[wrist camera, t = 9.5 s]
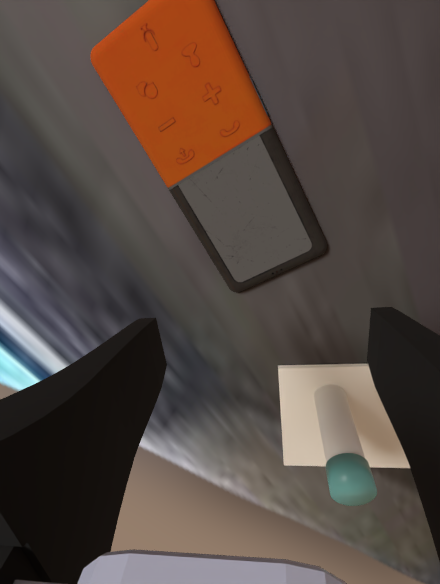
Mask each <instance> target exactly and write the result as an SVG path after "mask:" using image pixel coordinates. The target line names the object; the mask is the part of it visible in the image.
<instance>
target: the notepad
mask: <svg viewBox="0 0 440 584" xmlns="http://www.w3.org/2000/svg"><path fill="white" fill-rule="evenodd" d="M278 373H279V390H280V407H281V424H282V441H283V458H284V465H294V466H326V458H325V453H324V448H323V442H322V437H321V432H320V427H319V421H318V416H317V411H316V405H315V400H314V393H315V391H316V390H317V389H318V388H320V387H321V386H324V385H329V384H333V385H337V386H340V387H341V388H343V389H344V391H345V393H346V396H347V400H348V403H349V406H350V410H351V413H352V416H353V420H354V423H355V426H356V430H357V433H358V436H359V439H360V443H361V446H362V449H363V453H364V456H365V459H366V460H367V461H368V463H369V466H370V467H383V468H410V465H409V463H408V460H407V458H406V455H405V453H404V450H403V448H402V446H401V444H400V441H399V439H398V437H397V435H396V433H395V430H394V428H393V426H392V424H391V422H390V419H389V417H388V415H387V413H386V411H385V409H384V406H383V404H382V402H381V400H380V397H379V395H378V393H377V391H376V388H375V386H374V382H373V379H372V376H371V372H370V369H369V365H368V364H324V365H279V366H278Z"/></svg>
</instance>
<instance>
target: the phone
mask: <svg viewBox="0 0 440 584" xmlns="http://www.w3.org/2000/svg"><path fill="white" fill-rule="evenodd" d="M91 62H92V64H93V66H94V68H95V70H96V71H97V73H98V74H99V76H100V78H101V79H102V81H103V83H104V84H105V86H106V88H107V89H108V91H109V92H110V94H111V96H112V97H113V99H114V101H115V102H116V104H117V106H118V107H119V109H120V110H121V112H122V114H123V115H124V117H125V119H126V120H127V122H128V123H129V125H130V127H131V128H132V130H133V132H134V133H135V135H136V137H137V138H138V140H139V141H140V143H141V145H142V146H143V148H144V150H145V151H146V153H147V155H148V156H149V158H150V159H151V161H152V163H153V164H154V166H155V168H156V169H157V171H158V173H159V174H160V176H161V177H162V179H163V181H164V182H165V184H166V186H167V187H168V189H169V191H170V192H171V194H172V195H173V197H174V199H175V200H176V202H177V204H178V205H179V207H180V209H181V210H182V212H183V213H184V215H185V217H186V218H187V220H188V222H189V223H190V225H191V227H192V228H193V230H194V231H195V233H196V235H197V236H198V238H199V240H200V241H201V243H202V245H203V246H204V248H205V249H206V251H207V253H208V254H209V256H210V258H211V259H212V261H213V263H214V264H215V266H216V267H217V269H218V271H219V272H220V274H221V276H222V277H223V279H224V281H225V282H226V284H227V285H228V287H229V289H230V290H231V291H233V292H242V291H244V290H246V289H248V288H250V287H253V286H255V285H257V284H259V283H261V282H263V281H266V280H268V279H270V278H272V277H274V276H277V275H279V274H281V273H283V272H285V271H287V270H290V269H292V268H294V267H296V266H298V265H301V264H303V263H305V262H307V261H309V260H311V259H314V258H316V257H318V256H320V255H322V254H323V253H324V252H325V251H326V248H327V242H326V240H325V237H324V235H323V233H322V231H321V229H320V227H319V225H318V222H317V220H316V218H315V216H314V214H313V212H312V210H311V207H310V205H309V203H308V201H307V199H306V197H305V195H304V192H303V190H302V188H301V186H300V184H299V182H298V180H297V177H296V175H295V173H294V171H293V169H292V167H291V165H290V162H289V160H288V158H287V156H286V154H285V152H284V149H283V147H282V145H281V143H280V141H279V139H278V137H277V134H276V132H275V130H274V128H273V126H272V124H271V122H270V119H269V117H268V114H267V112H266V109H265V107H264V105H263V103H262V101H261V99H260V96H259V94H258V92H257V90H256V88H255V86H254V84H253V81H252V79H251V77H250V76H249V74H248V72H247V70H246V68H245V66H244V64H243V62H242V59H241V57H240V55H239V53H238V51H237V49H236V46H235V44H234V42H233V40H232V38H231V36H230V34H229V31H228V29H227V27H226V25H225V23H224V21H223V19H222V16H221V14H220V12H219V10H218V8H217V6H216V4H215V1H214V0H149V1H148V2H147V3H145V4H144V5H143V6H142V7H140V8H139V9H138V10H137V11H136V12H134V13H133V14H132V15H131V16H130V17H129V18H128V19H126V20H125V21H124V22H123V23H122V24H121V25H119V26H118V27H117V28H116V29H115V30H114V31H112V32H111V33H110V34H109V35H108V36H106V37H105V38H104V39H103V40H102V41H101V42H99V43H98V44H97V45H96V46H95V47H94V48H93V49H92V51H91Z"/></svg>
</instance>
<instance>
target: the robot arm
mask: <svg viewBox="0 0 440 584" xmlns="http://www.w3.org/2000/svg"><path fill="white" fill-rule="evenodd" d="M367 362H368V365H369V369H370V372H371V376H372V379H373V382H374V386H375V388H376V391H377V393H378V395H379V397H380V400H381V402H382V404H383V406H384V409H385V411H386V413H387V415H388V417H389V419H390V422H391V424H392V426H393V428H394V430H395V433H396V435H397V437H398V439H399V441H400V444H401V446H402V448H403V450H404V453H405V455H406V458H407V460H408V463H409V465H410V468H411V471H412V474H413V477H414V480H415V483H416V486H417V489H418V492H419V495H420V498H421V502H422V505H423V508H424V511H425V514H426V518H427V521H428V524H429V527H430V530H431V534H432V537H433V540H434V544H435V547H436V551H437V554H438V557H439V561H440V336H439V335H438V334H436V333H434V332H433V331H431V330H429V329H428V328H426V327H424V326H423V325H421V324H419V323H418V322H416V321H415V320H413V319H411V318H410V317H408V316H406V315H405V314H403V313H402V312H400V311H398V310H396V309H394V308H392V307H382V308H371V316H370V329H369V342H368V354H367ZM166 366H167V364H166V359H165V355H164V351H163V346H162V342H161V338H160V333H159V329H158V325H157V321H156V318H144V319H138V320H136V321H135V322H133V323H131V324H130V325H128V326H127V327H126V328H124V329H123V330H121V331H120V332H118V333H117V334H116V335H114V336H113V337H111V338H110V339H109V340H107V341H106V342H104V343H103V344H101V345H100V346H99V347H97V348H96V349H94V350H93V351H91V352H90V353H88V354H86V355H85V356H83V357H82V358H80V359H79V360H77V361H76V362H74V363H73V364H71V365H69V366H68V367H66V368H64V369H62V370H61V371H59V372H57V373H55V374H53V375H52V376H50V377H48V378H46V379H44V380H42V381H40V382H38V383H36V384H34V385H32V386H30V387H27V388H25V389H23V390H21V391H19V392H17V393H14V394H12V395H10V396H8V397H6V398H3V399H1V400H0V584H346V583H345V582H344V581H343V580H341V579H339V578H337V577H336V576H334V575H333V574H331V573H329V572H328V571H326V570H324V569H323V568H321V567H319V566H315V565H310V564H305V563H300V562H295V561H291V560H286V559H271V558H256V557H239V556H225V555H209V554H195V553H178V552H164V551H148V550H125V551H115V552H110V551H111V546H112V542H113V538H114V533H115V529H116V525H117V520H118V516H119V512H120V508H121V504H122V501H123V496H124V493H125V489H126V485H127V481H128V478H129V474H130V471H131V468H132V464H133V461H134V457H135V454H136V451H137V449H138V446H139V443H140V441H141V438H142V436H143V433H144V431H145V428H146V426H147V423H148V421H149V418H150V416H151V414H152V411H153V409H154V406H155V403H156V401H157V398H158V396H159V393H160V390H161V387H162V383H163V379H164V375H165V371H166Z"/></svg>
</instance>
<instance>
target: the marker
mask: <svg viewBox="0 0 440 584" xmlns="http://www.w3.org/2000/svg"><path fill="white" fill-rule="evenodd" d="M314 400H315V405H316V411H317V416H318V421H319V427H320V432H321V437H322V442H323V448H324V453H325V458H326V467H325V468H326V473H327V479H328V484H329V489H330V495H331V497H332V498H333V499H334V500H335V501H336V502H338V503H340V504H343V505H348V506H359V505H363V504H366V503H369V502H370V501H372V500H373V499H374V498H375V497H376V495H377V489H376V486H375V482H374V479H373V476H372V473H371V469H370V466H369V463H368V461H367V460H366V459H365V456H364V453H363V449H362V446H361V443H360V439H359V436H358V433H357V430H356V426H355V423H354V420H353V416H352V413H351V410H350V406H349V403H348V400H347V396H346V393H345V391H344V389H343V388H341V387H340V386H337V385H333V384H329V385H324V386H321V387H320V388H318V389H317V390H316V391H315V393H314Z"/></svg>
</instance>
